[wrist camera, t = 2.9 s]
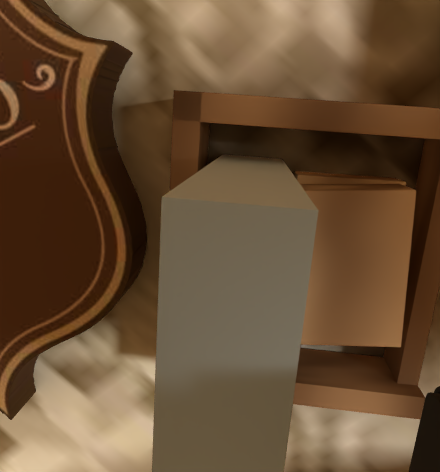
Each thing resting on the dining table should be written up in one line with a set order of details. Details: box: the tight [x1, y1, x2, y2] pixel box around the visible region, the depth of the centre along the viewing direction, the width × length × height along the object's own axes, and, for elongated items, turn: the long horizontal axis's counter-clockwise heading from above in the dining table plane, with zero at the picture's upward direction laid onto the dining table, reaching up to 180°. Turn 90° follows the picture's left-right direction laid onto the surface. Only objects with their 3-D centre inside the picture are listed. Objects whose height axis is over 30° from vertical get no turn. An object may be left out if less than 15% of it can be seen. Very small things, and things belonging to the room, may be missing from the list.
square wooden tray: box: [170, 90, 440, 419], centre depth 21 cm, size 13×14×4 cm
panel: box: [152, 154, 318, 472], centre depth 16 cm, size 3×9×14 cm, turn 176°
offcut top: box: [300, 184, 416, 347], centre depth 19 cm, size 5×7×2 cm, turn 1°
